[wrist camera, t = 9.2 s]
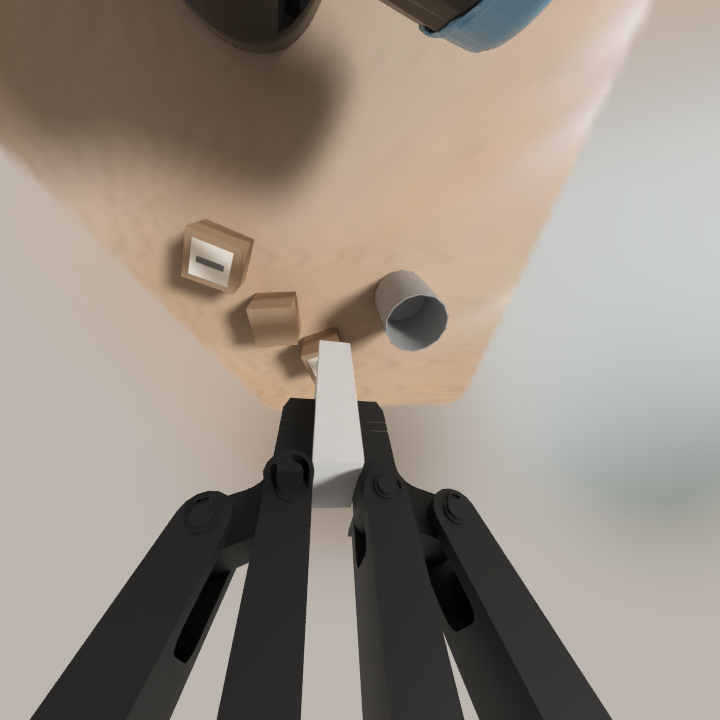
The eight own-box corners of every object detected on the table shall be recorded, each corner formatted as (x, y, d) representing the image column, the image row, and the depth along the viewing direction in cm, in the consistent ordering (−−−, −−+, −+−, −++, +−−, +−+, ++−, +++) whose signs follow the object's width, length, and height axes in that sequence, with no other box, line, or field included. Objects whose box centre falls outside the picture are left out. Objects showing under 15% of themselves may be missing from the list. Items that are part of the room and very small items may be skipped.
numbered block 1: (206, 218, 33) (183, 226, 28) (254, 239, 35) (241, 250, 30) (200, 262, 36) (179, 277, 31) (245, 279, 38) (232, 295, 33)
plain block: (256, 292, 39) (245, 309, 34) (295, 291, 40) (291, 307, 35) (264, 327, 43) (256, 346, 38) (301, 325, 43) (297, 344, 38)
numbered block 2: (303, 337, 45) (300, 357, 39) (336, 327, 44) (337, 347, 39) (316, 363, 48) (314, 385, 43) (346, 354, 48) (348, 376, 42)
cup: (379, 324, 44) (390, 357, 36) (369, 278, 40) (379, 304, 32) (427, 311, 44) (449, 342, 36) (423, 264, 39) (447, 286, 31)
